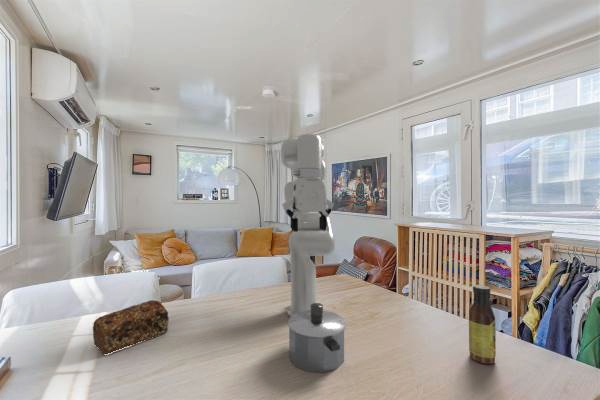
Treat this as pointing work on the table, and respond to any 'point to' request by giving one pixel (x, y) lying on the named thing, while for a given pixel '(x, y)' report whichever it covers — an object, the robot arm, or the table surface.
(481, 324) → the sauce bottle
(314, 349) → the pot
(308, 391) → the table surface
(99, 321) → the bread
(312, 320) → the lid
